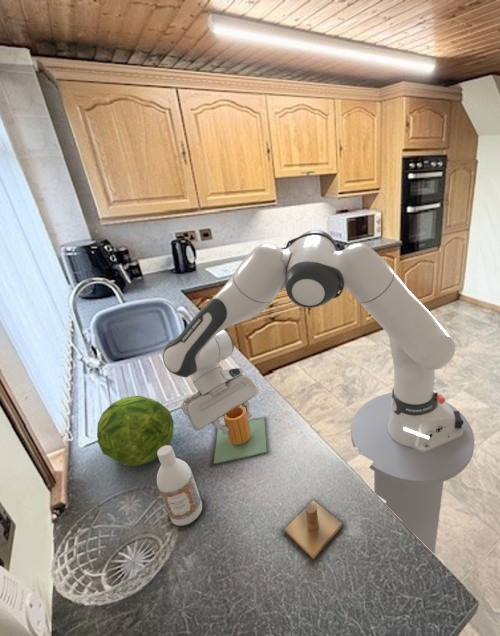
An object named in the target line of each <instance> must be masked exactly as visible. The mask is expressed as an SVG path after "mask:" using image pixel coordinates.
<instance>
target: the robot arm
mask: <svg viewBox="0 0 500 636" xmlns="http://www.w3.org/2000/svg"><path fill="white" fill-rule="evenodd" d="M284 289H285V291H286V294H287V296H288V298H289V300H290V301H291V302H292V303H293V304H295V305H296V306H298V307H301V308H306V309H313V308H318V307H322V306H323V305H326V304H327V303H328V302H330V301H332V300H333V299H336V298H339V297H340V296H341V295H342V293H343V291H344V290H346V291H347V292H348V293H349V294H350V295H351V296H352V297H353V298H354V299H355V300H356V301H357V302H358V303H359V304H360V305H361V306H362V307H363V309H364V310H366V312H367V313H368V314H369V315H370V316H371V317H372V318H373V320H375V321H376V322H377V323H378V324H379V326H380V327H381V328H382V329H383V330H384V331H385V332H386V333H387V335H388V340H389V347H390V352H391V357H392V364H393V388H392V392H391V393H392V414H391V417H390V420H389V423H388V426H387V430H388V433H389V435H390V436H391V438H392V439H393V440H395V441H396V442H397V443H399V444H401V445H404V446H407V447H411V448H414V449H416V450H418V451H419V452H422V453H425V452H428V451H430V450H432V449H434V448H437V447H439V446H441V445H443V444H446V443H448V442H450V441H452V440H455V439H457V438H459V437H461V436H463V427H462V425H463V420H462V419H461V416H460V413H461V412H460V411H459V410H458V411H453V410H452V409H451V407H450V406H449V405H448V404H449V403H448V402H447V401H446V398H445V397H444V396H443V395H442V394H439V391H438V390H437V389H436V388H435V387H434V386H435V376H436V375H435V374H436V373H435V372H436V371H437V370H440V369H442V368H445V366H447V365H448V364H449V363H450V362H451V361H452V359H453V357H454V355H455V352H456V344H455V341H454V339H453V338H452V336H451V335H450V333H449V332H448V331H447V330H446V328H445V327H444V326H443V324H441V322H440V321H439V320H438V319H437V318H436V317H435V316H434V315H433V314H432V313H431V311H429V309H428V308H427V307H426V306H425V305H424V304H423V303H422V302H421V301H420V300H419V299H418V298H417V296H416V295H415V294H413V293H412V291H411V290H410V289H409V288H408V286H407V285H406V284H405V283H404V282H403V280H402V279H401V278H400V276H399V275H398V274H397V273H396V271H394V269H393V268H392V267H391V266H390V264H389V263H388V262H387V261H386V260H385V259H384V258H383V257H382V256H381V255H380V254H379V253H378V252H376V251H375V250H374V249H373V248H372V247H370V246H369V245H367V244H365V243H363V242H356V243H352V244H350V245H347V246H346V247H345V248H344V249H341V250H338V247H337V244H336V242H335V239H334V238H333V237H332V235H331V234H329V233H327V232H326V231H324V230H320V229H314V230H309V231H306V232H304V233H302V234H300V235H299V236H297V237H295V238H292V239H290V240H288V241H287V243H286V246H285V248H281V247H279V246H277V245H276V244H272V243H262V244H260V245H257V246H255V248H254V249H252V250H251V251H250V253H249V254H247V255H246V257H245V258H244V259H243V260H242V261H241V263H239V265H238V266H237V268H236V269H235V271H234V273H233V274H232V275H231V276H230V278H229V279H228V281H227V282H226V283H225V284H224V286H222V288H221V289H220V290H219V291H218V292H217V293H216V294H215V295H214V296H213V297H212V298H211V299H210V300H209V301H208V302H207V303H206V304H205V305H204V306H203V307H202V308H201V309H200V310H199V311H198V312H197V313H196V314H195V316H194V317H193V318H192V319H191V321H190V322H189V324H187V326H185V328H184V329H183V330H182V332H181V333H180V334H179V335H178V336H177V337H175V338H173V339H170V340H169V341H168V342H167V343H166V345H165V347H164V350H163V353H162V363H163V364H164V366H165V368H166V369H167V371H168V372H169V373H171V374H173V375H176V376H178V377H181V378H188V377H190V379H191V382H192V384H193V386H194V388H195V389H196V391H197V392H196V393H194V394H192V395H191V396H189V397H186V398H185V399H183V402H182V403H181V406H180V407H181V410H182V413H183V414H185V415H186V416H187V417H188V419H189V422H190V424H191V426H192V428H193V430H195V431H198V432H199V431H201V430H203V429H205V428H206V427H207V426H209V425H211V424H212V426H213V427H214V428H216V429H217V430H218V429H221V431H222V432H223V434H224V435H225V434H226V433H227V432H229V431H230V429H229V428H228V426H227V425H222V424H221V423H220V419H221V418H223V416H224V414H226V413H227V412H229V411H231V410H232V409H234V408H235V407H237V406H243V407H244V408H245V409H246V413H247V417H248V420H249V419H250V418H252V417H253V415H252V413H251V411H250V410H251V409H250V402H249V401H250V400H251V399H253V398H255V397H256V396H257V395H258V394H259V391H260V390H259V388H258V386H257V385H256V383H255V382H254V380H253V379H252V378H251V377H250V375H248V374H246V373H244V369H243V367H241V366H238V367H232V368H226V369H223V367H222V366H221V364H220V363H221V362H223V361H224V360H226V359H228V358H229V357H230V356H231V355H233V352H234V349H235V343H234V339H233V337H232V335H231V333H229V331H227V330H226V329H228V328H230V327H232V326H235V325H237V324H240V323H242V322H246V321H248V320H250V319H253V318H255V317H257V316H259V315H260V314H261V313H263V312H264V311H265V310H266V309H268V307H269V306H271V304H272V303H273V302H274V301H275V299H276V298H277V297H278V295H279V293H280V292H281V291H282V290H284ZM446 402H447V403H448V404H447V403H446ZM459 412H460V413H459ZM224 426H225V427H224Z"/></svg>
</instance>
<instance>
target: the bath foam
mask: <svg viewBox="0 0 500 636" xmlns="http://www.w3.org/2000/svg"><path fill="white" fill-rule="evenodd" d="M157 455H158V457H157V458H158V461H159V462H160V466H159V469H158V471H157V474H156V485H157V490H158V491H159V494H160V497H161V499H162V502H163V504H164V506H165V509H166V511H167V513H168V516H169V518H170V521H171V522H172V524H174V525H176V526H179V527H181V526H182V527H183V526H187V525H189V524H191V523H193V522H194V521H195V520H196V519H198V518H199V516H200V515H201V512H202V509H203V502H202V499H201V495H200V493H199V490H198V487H197V484H196V481H195V477H194V475H193V472H192V469H191V467H190V466H189V464H188V462H186V461H184V460H182V459H180V458H178V457H176V454H175V452H174V449H173V446H172V445H170V444H169V445H166V446H163V447H161V448H160V449H159V450H158V451H157Z"/></svg>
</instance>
